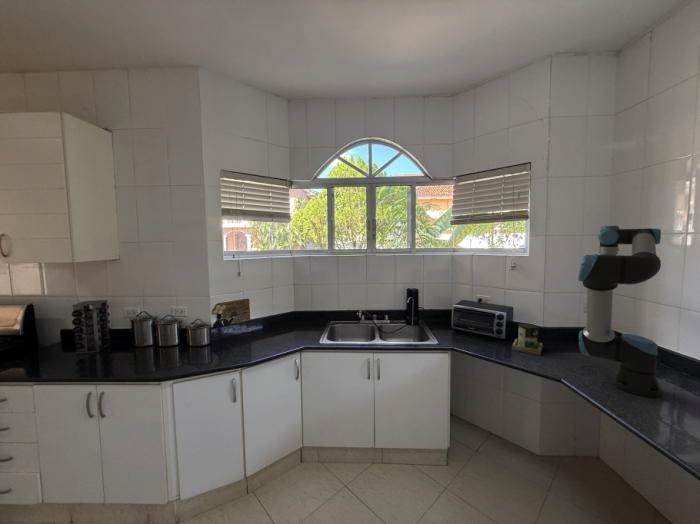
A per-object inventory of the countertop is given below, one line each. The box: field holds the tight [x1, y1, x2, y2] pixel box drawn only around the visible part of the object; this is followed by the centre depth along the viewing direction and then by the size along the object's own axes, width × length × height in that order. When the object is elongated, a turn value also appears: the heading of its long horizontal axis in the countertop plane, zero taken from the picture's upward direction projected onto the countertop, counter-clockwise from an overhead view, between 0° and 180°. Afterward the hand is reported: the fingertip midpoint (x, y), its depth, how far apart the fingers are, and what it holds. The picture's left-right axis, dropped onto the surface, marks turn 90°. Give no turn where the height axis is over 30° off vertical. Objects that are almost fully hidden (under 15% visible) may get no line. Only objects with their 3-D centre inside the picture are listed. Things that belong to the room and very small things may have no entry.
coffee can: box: [517, 322, 539, 349], centre depth 181 cm, size 10×10×14 cm
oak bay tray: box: [511, 338, 543, 356], centre depth 182 cm, size 14×14×3 cm
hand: (605, 294), depth 161 cm, fingers open, 13 cm apart
